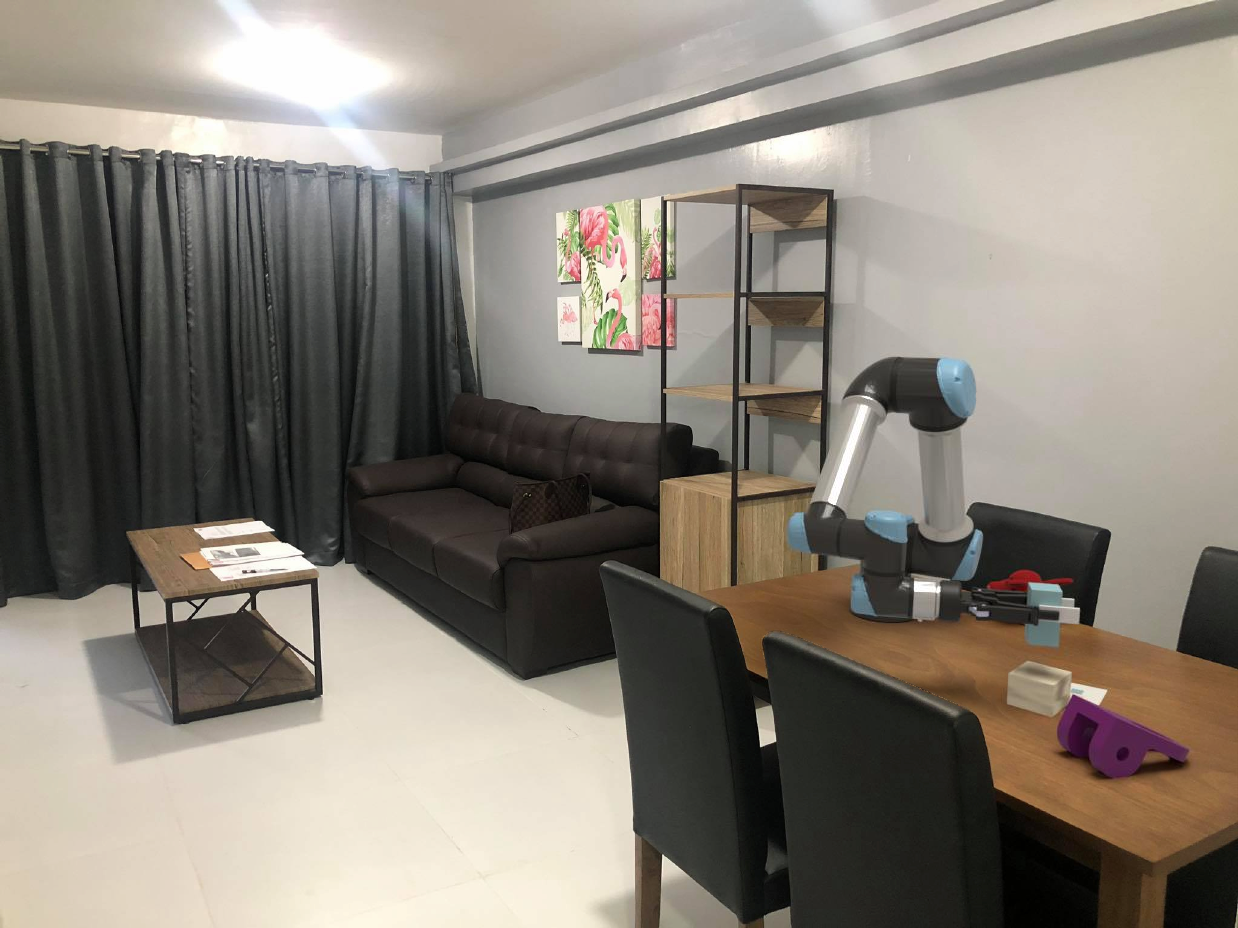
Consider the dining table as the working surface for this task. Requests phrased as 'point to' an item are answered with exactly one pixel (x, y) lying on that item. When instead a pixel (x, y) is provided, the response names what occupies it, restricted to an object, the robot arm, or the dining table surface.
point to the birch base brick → (1039, 688)
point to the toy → (1024, 581)
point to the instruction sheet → (1088, 693)
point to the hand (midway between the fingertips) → (1075, 611)
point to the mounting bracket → (1111, 738)
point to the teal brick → (1045, 630)
